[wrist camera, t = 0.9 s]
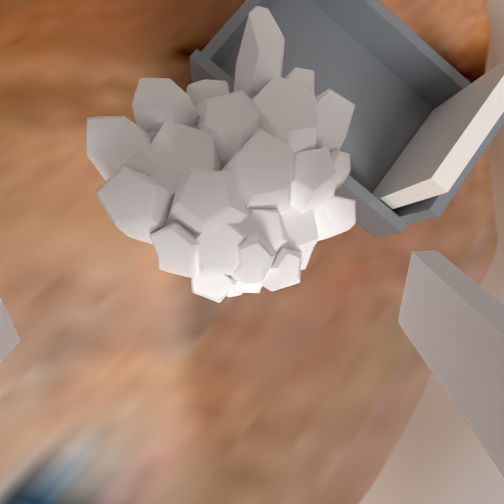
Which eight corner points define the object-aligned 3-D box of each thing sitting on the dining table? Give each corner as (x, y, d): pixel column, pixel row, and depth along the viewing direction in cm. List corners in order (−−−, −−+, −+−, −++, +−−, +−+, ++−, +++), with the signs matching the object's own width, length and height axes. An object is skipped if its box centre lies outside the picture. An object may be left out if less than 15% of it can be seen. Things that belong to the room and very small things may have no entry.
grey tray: (192, 87, 32) (186, 21, 23) (287, -24, 34) (314, -123, 25) (374, 237, 34) (431, 227, 25) (455, 124, 36) (534, 79, 27)
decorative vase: (288, 182, 32) (507, -69, 8) (284, 289, 32) (500, 392, 7) (177, 175, 31) (14, -139, 7) (173, 286, 31) (-15, 394, 6)
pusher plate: (363, 204, 33) (431, 178, 23) (432, 110, 34) (523, 47, 25) (380, 217, 33) (454, 197, 23) (447, 123, 35) (544, 66, 25)
